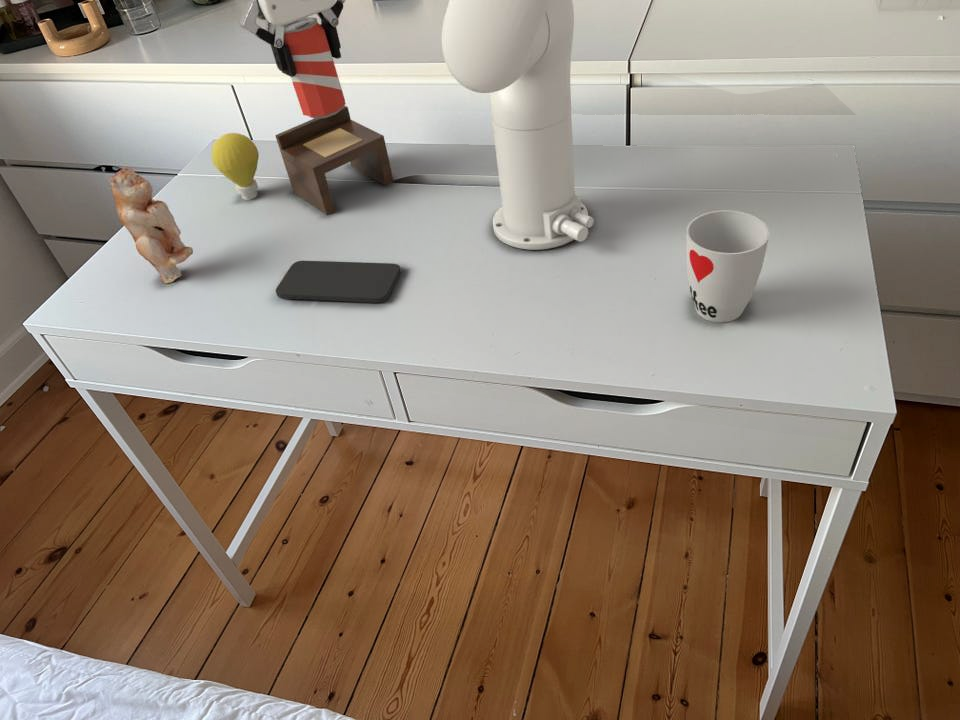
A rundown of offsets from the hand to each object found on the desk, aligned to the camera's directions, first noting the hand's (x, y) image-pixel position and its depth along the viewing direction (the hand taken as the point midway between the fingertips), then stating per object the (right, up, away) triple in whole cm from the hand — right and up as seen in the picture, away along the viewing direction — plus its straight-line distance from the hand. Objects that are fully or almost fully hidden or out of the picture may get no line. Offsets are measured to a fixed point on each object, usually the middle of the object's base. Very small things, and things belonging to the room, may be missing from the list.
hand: (311, 63), depth 104 cm
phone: (+5, -30, -6) cm, 32 cm away
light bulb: (-13, -15, +15) cm, 25 cm away
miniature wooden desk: (+2, -14, +13) cm, 19 cm away
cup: (+49, -34, -19) cm, 63 cm away
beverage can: (+1, -5, +5) cm, 7 cm away
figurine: (-19, -28, +1) cm, 34 cm away
